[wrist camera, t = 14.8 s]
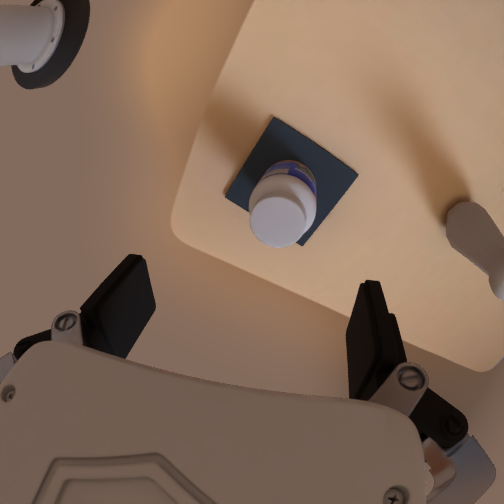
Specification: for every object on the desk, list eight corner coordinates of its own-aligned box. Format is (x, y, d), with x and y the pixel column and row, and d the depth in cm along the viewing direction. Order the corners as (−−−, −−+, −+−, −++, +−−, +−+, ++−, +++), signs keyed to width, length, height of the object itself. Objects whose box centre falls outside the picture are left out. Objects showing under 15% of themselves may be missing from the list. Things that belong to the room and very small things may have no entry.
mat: (225, 196, 31) (224, 197, 30) (274, 116, 25) (273, 117, 25) (302, 244, 32) (302, 246, 31) (358, 174, 26) (358, 175, 26)
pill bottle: (324, 198, 28) (328, 243, 20) (276, 217, 30) (261, 266, 22) (302, 150, 26) (297, 173, 18) (253, 171, 28) (226, 204, 20)
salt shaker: (486, 209, 24) (548, 269, 13) (462, 249, 27) (511, 319, 16) (454, 186, 24) (520, 241, 13) (430, 229, 27) (479, 301, 16)
